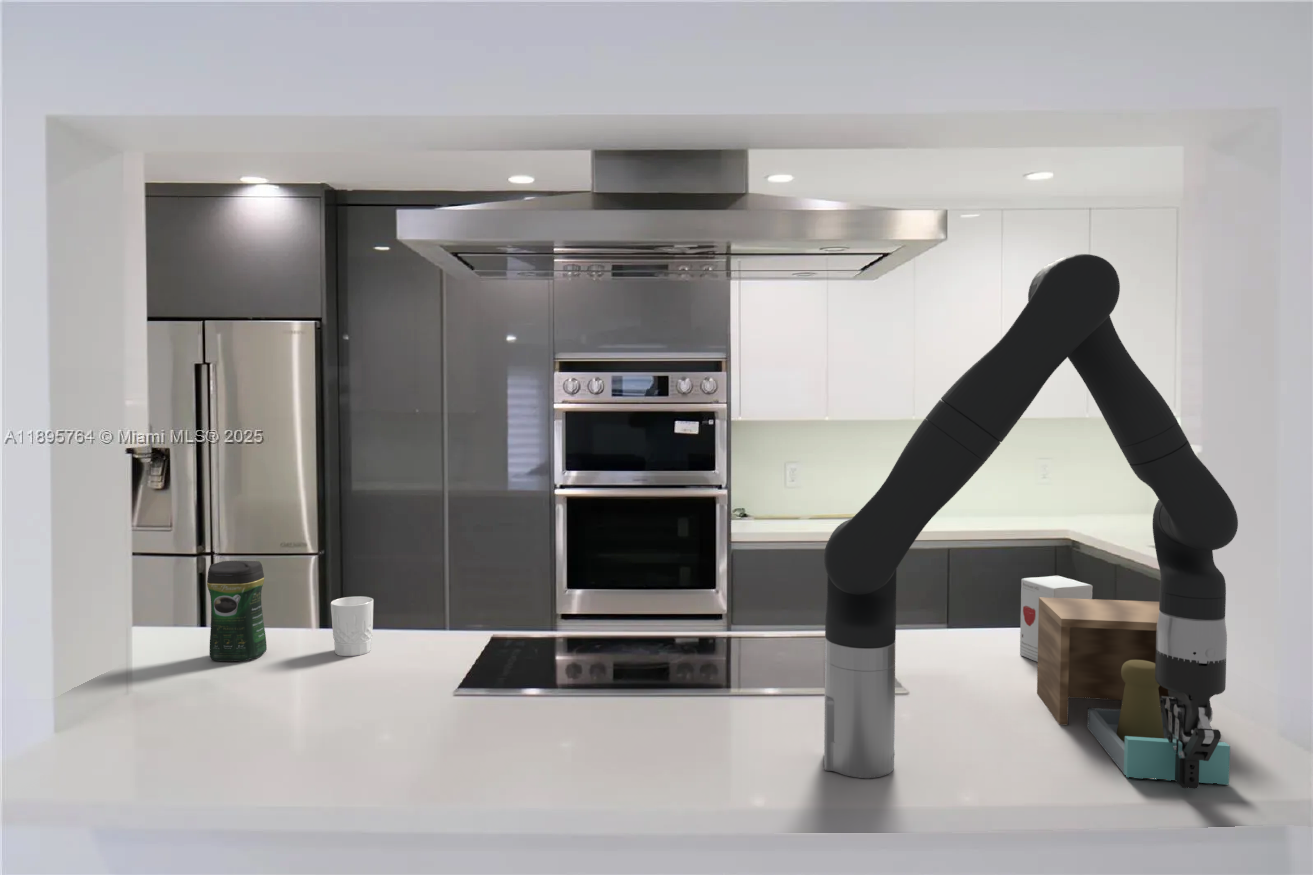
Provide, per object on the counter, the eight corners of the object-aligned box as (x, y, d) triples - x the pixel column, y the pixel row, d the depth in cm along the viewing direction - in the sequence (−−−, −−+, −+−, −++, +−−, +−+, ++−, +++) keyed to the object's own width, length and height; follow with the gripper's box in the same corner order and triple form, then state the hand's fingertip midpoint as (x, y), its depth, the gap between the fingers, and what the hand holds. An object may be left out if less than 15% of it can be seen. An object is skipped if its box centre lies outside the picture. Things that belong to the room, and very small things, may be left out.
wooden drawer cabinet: (1059, 724, 133) (1061, 618, 132) (1036, 693, 147) (1038, 597, 146) (1198, 733, 130) (1201, 624, 129) (1162, 700, 143) (1164, 601, 143)
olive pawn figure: (1174, 747, 121) (1176, 668, 121) (1130, 747, 121) (1132, 668, 121) (1149, 730, 127) (1151, 655, 127) (1108, 730, 127) (1109, 655, 127)
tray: (1126, 777, 114) (1127, 739, 114) (1087, 727, 131) (1088, 694, 131) (1228, 784, 112) (1229, 746, 112) (1175, 733, 129) (1176, 699, 129)
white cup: (361, 658, 167) (359, 606, 167) (323, 656, 169) (322, 604, 168) (382, 646, 175) (380, 597, 175) (346, 644, 177) (344, 595, 176)
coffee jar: (273, 651, 172) (270, 557, 171) (251, 663, 164) (248, 565, 163) (226, 650, 173) (223, 556, 172) (202, 662, 165) (199, 564, 164)
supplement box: (1017, 655, 168) (1019, 577, 167) (1056, 650, 171) (1057, 574, 170) (1052, 669, 160) (1054, 587, 159) (1092, 664, 162) (1094, 584, 161)
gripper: (1139, 633, 117) (1135, 761, 117) (1178, 664, 104) (1174, 807, 104) (1201, 636, 115) (1197, 766, 116) (1249, 667, 102) (1244, 813, 103)
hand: (1186, 785), depth 110 cm, fingers closed
